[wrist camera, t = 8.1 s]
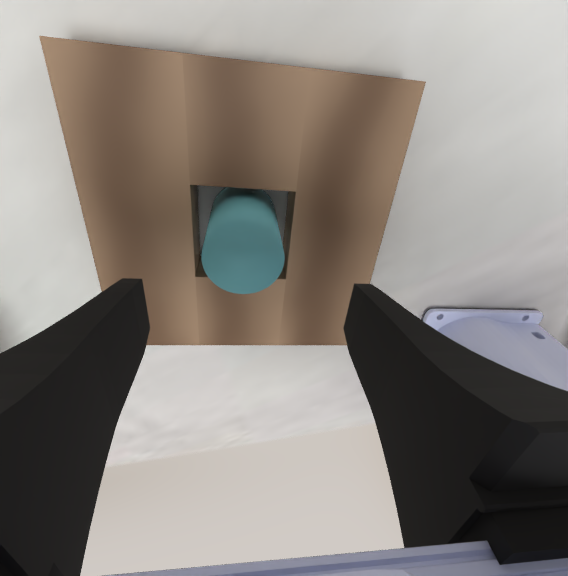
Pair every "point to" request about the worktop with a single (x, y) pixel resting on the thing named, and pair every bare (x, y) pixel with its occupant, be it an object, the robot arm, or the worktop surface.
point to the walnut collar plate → (230, 180)
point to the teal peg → (243, 241)
